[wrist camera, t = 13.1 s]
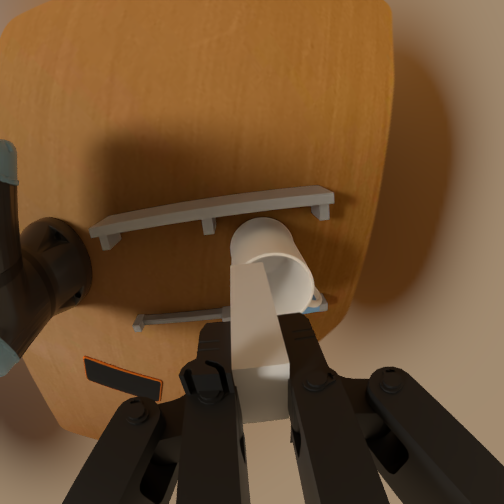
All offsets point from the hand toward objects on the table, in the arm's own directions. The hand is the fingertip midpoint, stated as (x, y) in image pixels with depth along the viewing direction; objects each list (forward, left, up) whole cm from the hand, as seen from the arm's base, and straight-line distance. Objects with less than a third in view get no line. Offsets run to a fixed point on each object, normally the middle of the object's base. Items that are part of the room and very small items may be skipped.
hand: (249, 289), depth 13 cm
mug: (+3, -8, -23) cm, 25 cm away
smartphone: (-28, -31, -24) cm, 48 cm away
